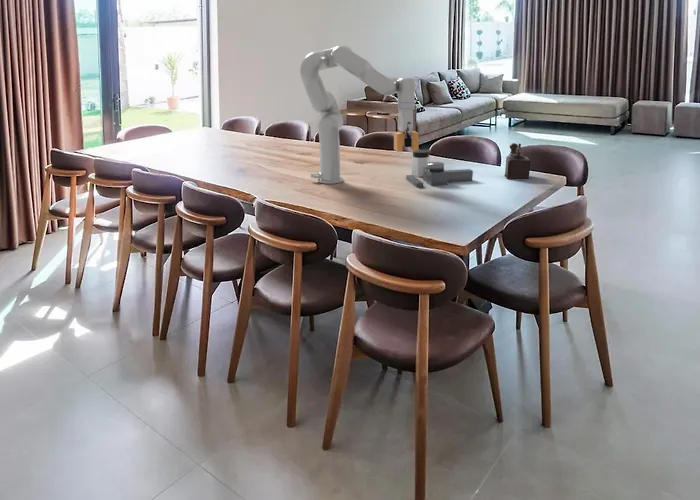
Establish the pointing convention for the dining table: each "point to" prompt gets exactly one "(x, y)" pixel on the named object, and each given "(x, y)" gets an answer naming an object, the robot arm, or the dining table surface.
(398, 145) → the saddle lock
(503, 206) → the dining table surface
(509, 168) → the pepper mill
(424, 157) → the jar
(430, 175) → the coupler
